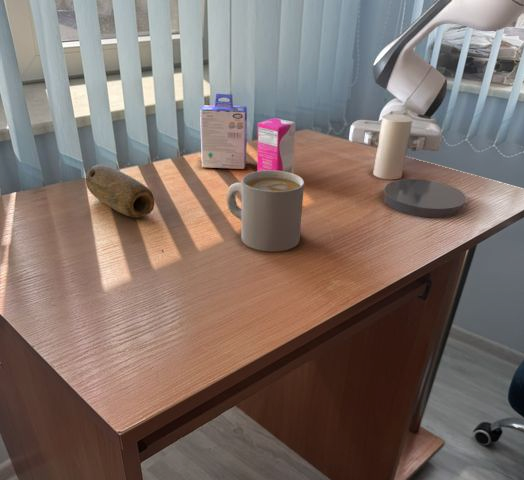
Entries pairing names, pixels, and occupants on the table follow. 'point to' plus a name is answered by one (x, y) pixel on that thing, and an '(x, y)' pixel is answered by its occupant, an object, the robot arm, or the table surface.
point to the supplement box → (276, 145)
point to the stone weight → (119, 191)
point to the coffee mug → (269, 209)
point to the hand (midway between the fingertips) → (393, 144)
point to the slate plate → (424, 198)
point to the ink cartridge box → (223, 134)
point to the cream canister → (392, 146)
